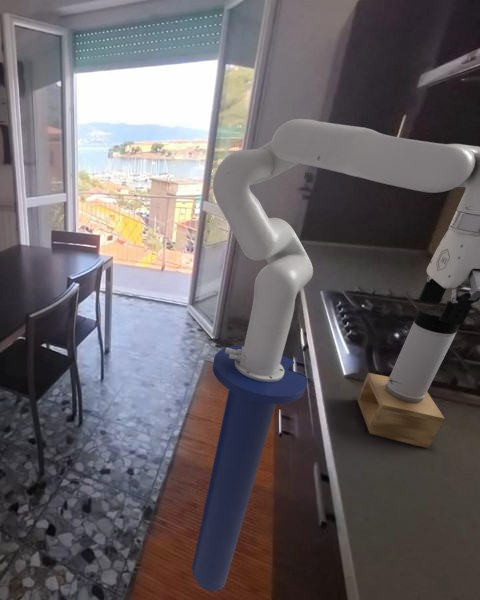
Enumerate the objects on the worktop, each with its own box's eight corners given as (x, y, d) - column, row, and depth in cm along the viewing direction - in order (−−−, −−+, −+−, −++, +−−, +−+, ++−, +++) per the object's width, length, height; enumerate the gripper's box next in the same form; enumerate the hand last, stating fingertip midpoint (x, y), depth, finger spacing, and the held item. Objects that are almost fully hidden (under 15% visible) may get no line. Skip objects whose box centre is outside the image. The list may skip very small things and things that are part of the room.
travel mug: (381, 393, 77) (417, 311, 69) (388, 380, 81) (423, 301, 73) (419, 408, 73) (462, 322, 64) (424, 394, 77) (466, 311, 68)
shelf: (369, 433, 77) (382, 404, 74) (357, 399, 87) (367, 372, 84) (428, 448, 74) (445, 418, 70) (408, 411, 84) (421, 383, 80)
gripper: (433, 212, 70) (399, 291, 77) (478, 233, 56) (431, 327, 63) (484, 215, 67) (444, 297, 75) (544, 238, 53) (488, 336, 60)
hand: (438, 311), depth 69 cm, fingers open, 9 cm apart
